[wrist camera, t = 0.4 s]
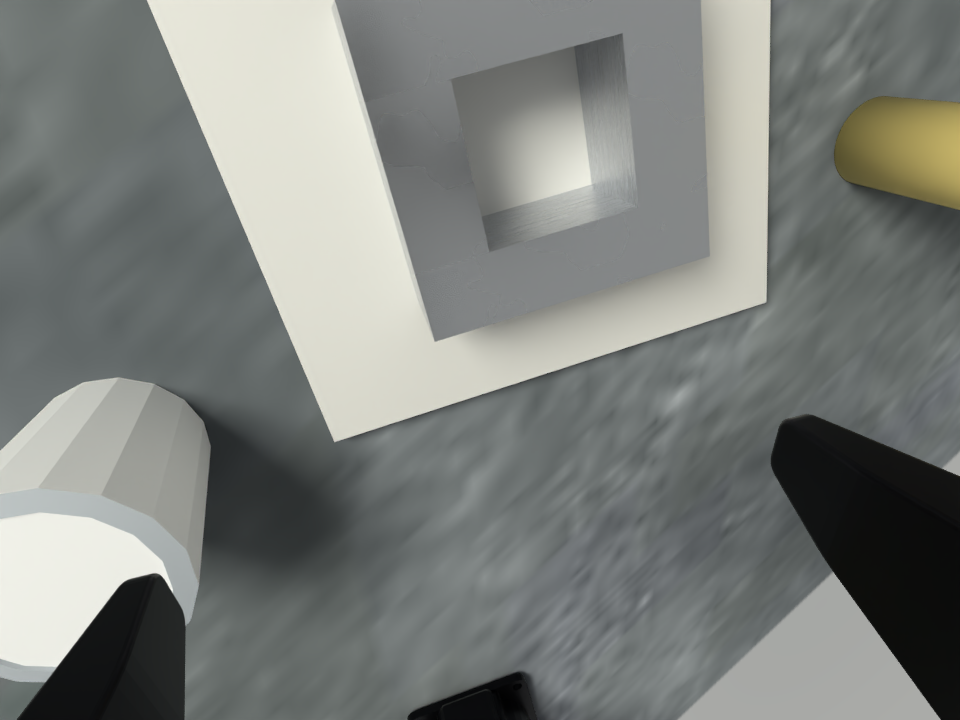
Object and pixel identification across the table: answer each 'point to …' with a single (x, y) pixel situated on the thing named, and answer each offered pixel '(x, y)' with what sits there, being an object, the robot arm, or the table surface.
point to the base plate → (499, 186)
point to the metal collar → (556, 219)
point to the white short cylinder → (95, 513)
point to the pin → (903, 148)
